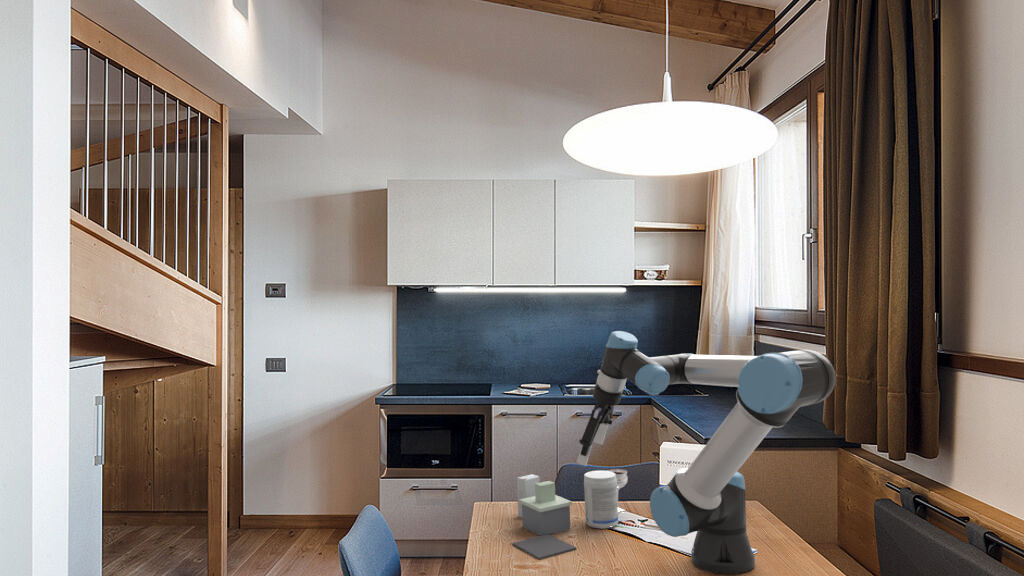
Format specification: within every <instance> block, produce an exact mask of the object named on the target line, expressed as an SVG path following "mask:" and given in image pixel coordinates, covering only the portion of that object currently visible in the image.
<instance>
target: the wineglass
mask: <svg viewBox="0 0 1024 576" xmlns="http://www.w3.org/2000/svg"><path fill="white" fill-rule="evenodd" d="M606 471H610V472H613V473H615V474H616V481H617V500H618V501H619V490H620V489H621V488H623V487H625V486H626V484H627V483H628V479H629V478H628V475H627V474H628V470H626V469H621V468H620V469H619V468H613V469H612V468H611V469H608V470H606ZM620 511H625V512H626V509H624V508H622V507H618V512H620Z"/></svg>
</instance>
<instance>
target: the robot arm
mask: <svg viewBox="0 0 1024 576" xmlns="http://www.w3.org/2000/svg"><path fill="white" fill-rule="evenodd" d="M638 342H639V341H638V339H637V337H636V336H635V335H633V334H632V333H630V332H627V331H623V330H616V331H612V332H611V333H610V335H609V338H608V340H607V343H606V344H605V349H604V353H603V356H602V357H603V358H602V362H601V365H600V367H599V368H600V369H598V370H597V371H596V373H597V374H598V376H597V379H596V383H594V384H595V385H594V389H593V392H592V397H593V398H594V400H596V401H597V403H596V404H595V405H594V407H593V409H592V411H591V414H590V417H589V420H588V422H587V425H586V427H585V430H584V433H583V435H582V437H581V439H579V441H578V442H579V443H580V447H579V453H578V455H577V460H576V463H577V464H579V465H582V466H584V467H587V465H588V462H589V459H590V455H591V452H592V448H593V442H594V443H596V444H598V445H601V446H603V444H604V442H605V439H606V434H607V432H608V427H609V425H612V423H613V420H612V419H613V415H614V409H615V406H617V405H619V403H620V402H621V399H622V396H623V391H624V389H625V386H626V383H627V380H629V381H630V382H631V383H632V384H634V385H635V386H636V387H637V388H638V389H640V390H642V391H643V392H645V393H646V394H648V395H649V396H658V395H659V394H660V393H663V392H664V391H665V390H666V389H667V387H668V386H670V385H678V384H685V385H686V384H687V385H705V386H716V387H717V386H718V387H731V388H733V387H735V388H737V390H736V393H735V397H736V401H737V402H736V404H735V405H734V407H733V408H732V409H731V410H730V412H729V413H728V414H727V416H726V417H725V419H724V420H723V422H722V423H721V424H720V425H719V427H718V428H717V429H716V431H715V432H714V433H713V435H712V436H711V437H710V438H709V440H708V441H707V443H706V444H705V446H704V447H703V448H702V449H701V451H700V452H699V453H698V455H697V456H696V457H695V459H694V460H693V461H692V463H691V464H690V465H689V466H687V467H682V468H680V469H679V470H677V472H676V473H675V474H674V475H673V477H672V478H671V479H670V481H669V482H668V483H667V484H666V485H660V486H658V487H656V488H655V489H654V490H653V491H652V492H651V495H650V498H649V508H650V512H651V516H652V518H653V520H654V522H655V524H656V526H657V527H658V528H659V529H660V531H662V532H663V533H664V534H665V535H667V536H670V537H673V538H677V537H685V536H687V535H690V534H691V533H694V532H696V534H695V538H694V541H693V546H692V548H691V550H690V551H691V554H690V555H691V557H690V558H691V562H692V563H693V565H694V566H695V567H697V568H699V569H701V570H702V571H707V572H710V573H713V574H714V573H716V574H722V575H723V574H724V575H739V574H743V573H747V572H750V571H752V570H753V569H755V567H756V559H755V558H756V557H755V552H754V551H753V550H752V547H751V543H750V539H749V537H748V534H747V514H746V513H747V510H746V509H747V507H746V505H747V504H746V503H747V502H746V490H747V489H746V488H747V487H746V485H745V476H744V475H743V474H742V473H740V471H739V469H741V467H743V465H744V463H745V462H746V461H747V460H748V459H749V457H750V456H751V455H752V454H753V452H754V451H755V450H756V448H758V446H759V445H760V444H761V443H762V441H763V440H764V438H765V437H766V436H767V435H768V434H769V433H770V431H771V430H772V428H775V429H776V428H777V429H778V428H782V427H784V426H785V425H787V423H788V421H790V419H791V418H792V417H793V415H794V414H795V413H796V412H797V411H798V410H799V408H801V407H805V406H810V405H811V406H812V405H815V404H819V403H821V402H823V401H824V400H826V399H827V398H828V397H829V396H830V395H831V393H832V392H833V390H834V387H836V371H835V369H834V366H833V364H832V363H831V361H830V360H829V359H828V358H827V357H826V356H824V355H823V354H822V353H820V352H818V351H815V350H809V349H798V350H790V351H783V352H767V353H763V354H761V355H725V354H724V355H721V354H720V355H718V354H694V353H686V352H684V353H683V352H681V353H679V354H678V353H677V354H672V355H671V354H669V355H661V356H651V357H649V356H647V355H645V354H643V353H642V352H641V351H640V350H639V349H637V348H638Z"/></svg>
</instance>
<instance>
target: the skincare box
mask: <svg viewBox="0 0 1024 576" xmlns="http://www.w3.org/2000/svg"><path fill="white" fill-rule="evenodd" d="M540 478H541V477H540V476H539V475H536V474H532V473H531V474H527V475H523V476H519V477H516V486H517V487H516V489H517V490H516V491H517V516H518V517H520V518H522V504H521V503H520V502H519V499H524V498H528V497H533V496H535V483H540V482H541V479H540Z"/></svg>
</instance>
